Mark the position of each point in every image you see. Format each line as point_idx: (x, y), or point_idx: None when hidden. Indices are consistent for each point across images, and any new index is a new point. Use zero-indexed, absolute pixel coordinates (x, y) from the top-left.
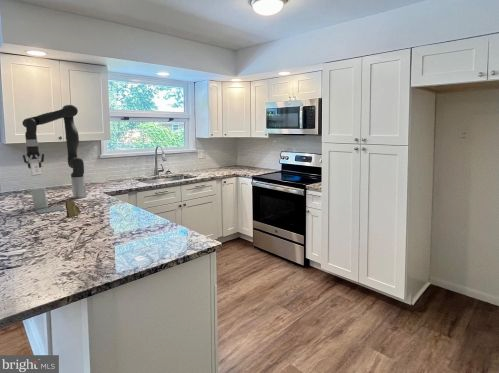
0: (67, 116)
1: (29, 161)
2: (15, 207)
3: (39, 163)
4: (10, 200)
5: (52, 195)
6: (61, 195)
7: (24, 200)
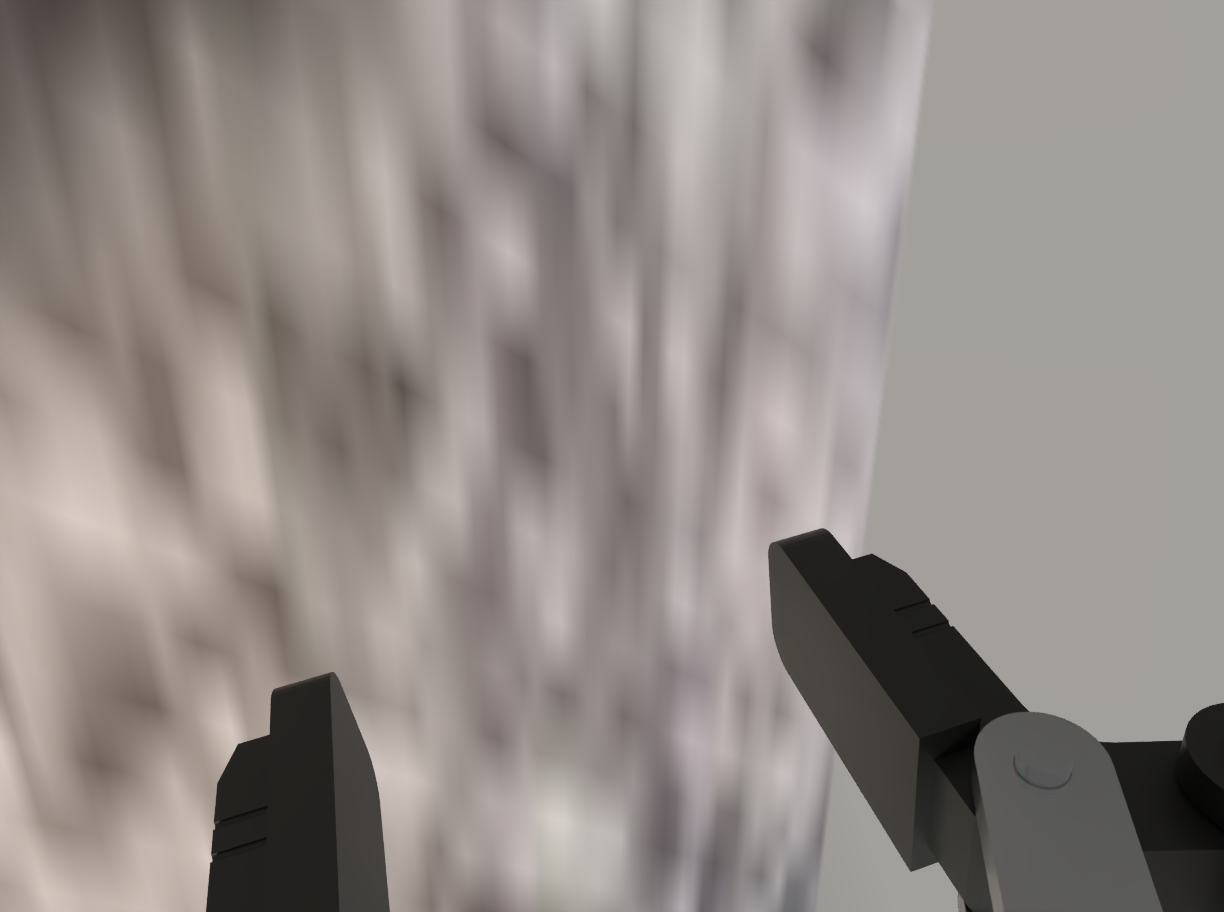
0: None
1: (1053, 863)
2: (780, 11)
3: (310, 906)
4: None
5: None
6: (87, 761)
7: (631, 577)
